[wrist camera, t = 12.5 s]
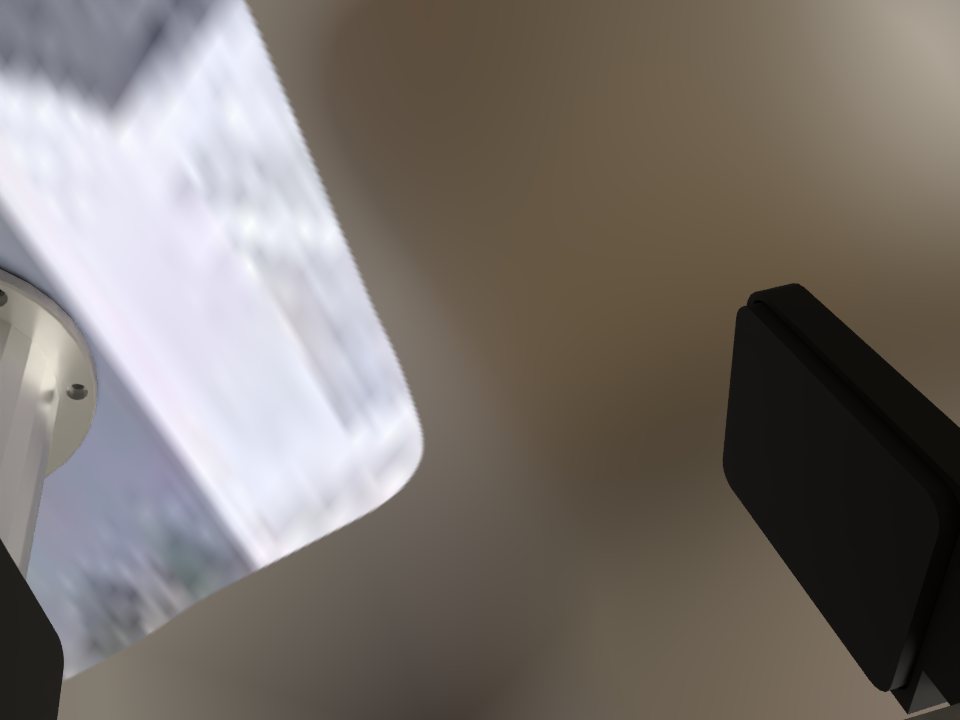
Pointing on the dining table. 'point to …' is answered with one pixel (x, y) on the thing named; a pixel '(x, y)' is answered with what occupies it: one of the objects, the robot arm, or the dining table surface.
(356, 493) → the dining table surface
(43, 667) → the robot arm
